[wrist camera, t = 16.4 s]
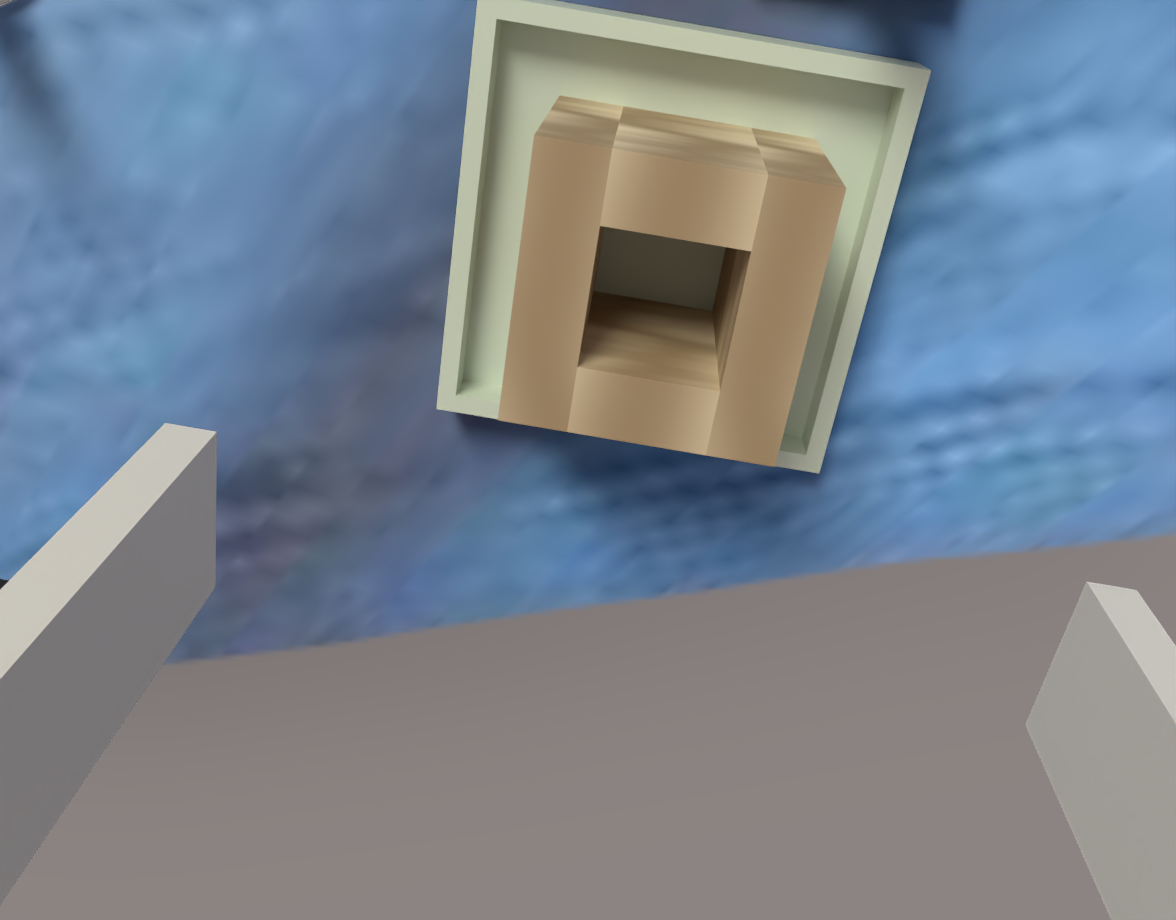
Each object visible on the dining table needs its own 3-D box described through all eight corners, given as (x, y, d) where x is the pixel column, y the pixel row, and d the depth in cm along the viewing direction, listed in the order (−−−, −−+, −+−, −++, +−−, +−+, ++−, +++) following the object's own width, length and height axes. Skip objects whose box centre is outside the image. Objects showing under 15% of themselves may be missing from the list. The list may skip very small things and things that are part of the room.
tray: (447, 386, 40) (436, 408, 38) (488, -11, 34) (478, -8, 32) (812, 448, 40) (819, 473, 38) (917, 62, 34) (931, 70, 32)
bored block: (526, 337, 38) (497, 420, 32) (559, 94, 34) (534, 134, 28) (758, 375, 38) (775, 467, 32) (815, 138, 34) (846, 188, 28)
